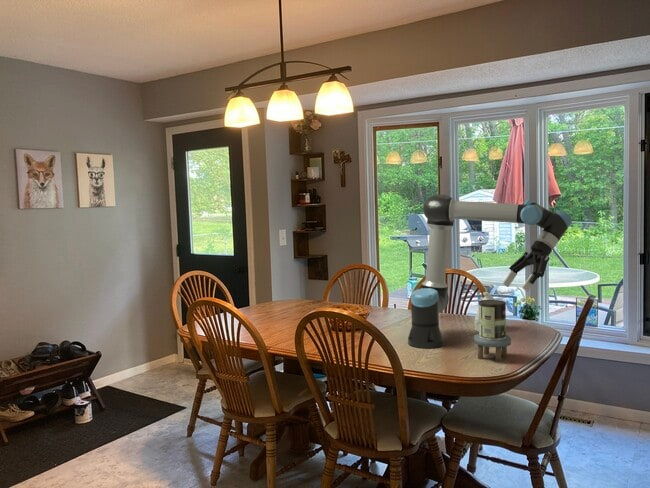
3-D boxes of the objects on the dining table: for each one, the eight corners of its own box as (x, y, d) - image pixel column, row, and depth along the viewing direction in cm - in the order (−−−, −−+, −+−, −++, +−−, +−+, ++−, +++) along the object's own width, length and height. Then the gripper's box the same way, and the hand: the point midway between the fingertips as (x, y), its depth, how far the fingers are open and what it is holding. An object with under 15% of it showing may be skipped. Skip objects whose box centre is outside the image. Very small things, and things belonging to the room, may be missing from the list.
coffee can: (504, 334, 213) (504, 299, 211) (507, 340, 202) (507, 304, 201) (477, 333, 215) (477, 299, 213) (479, 340, 204) (479, 304, 203)
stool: (468, 359, 207) (468, 339, 207) (481, 350, 219) (481, 331, 218) (504, 364, 199) (504, 343, 198) (515, 355, 210) (515, 335, 210)
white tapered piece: (491, 334, 244) (491, 295, 242) (469, 329, 254) (468, 292, 253) (508, 329, 252) (508, 292, 250) (485, 324, 262) (485, 288, 260)
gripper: (571, 252, 203) (540, 297, 201) (532, 248, 228) (504, 288, 226) (557, 241, 202) (526, 285, 200) (519, 238, 226) (491, 278, 224)
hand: (514, 287), depth 213 cm, fingers open, 13 cm apart
